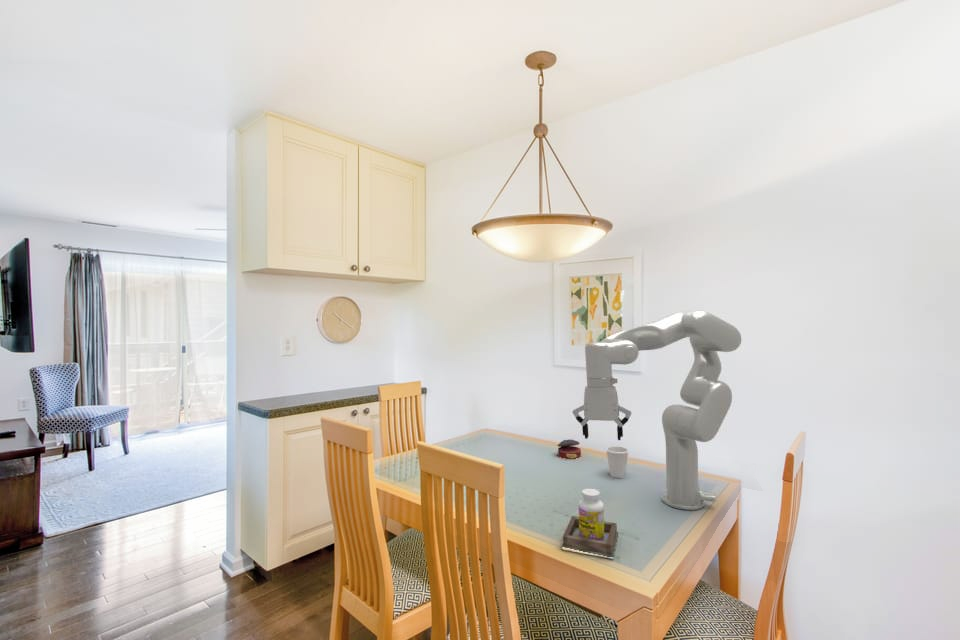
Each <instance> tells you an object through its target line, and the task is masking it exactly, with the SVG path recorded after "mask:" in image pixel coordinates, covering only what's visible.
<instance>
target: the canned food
mask: <svg viewBox="0 0 960 640" xmlns="http://www.w3.org/2000/svg"><path fill="white" fill-rule="evenodd" d="M579 445H580V442H579V441H577V440H575V439H563V440H562V441H560V442H559V443H558V444H557V445H556V446H557V447H558V448H557V455H558V458H560V457H561V459H563V458H565V459H564V460H577V459H576V458H578V459H580V458H581V457H582V452H581V451H582V450H581V448H580V447H579ZM577 446H578V447H577ZM579 457H580V458H579Z"/></svg>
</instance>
